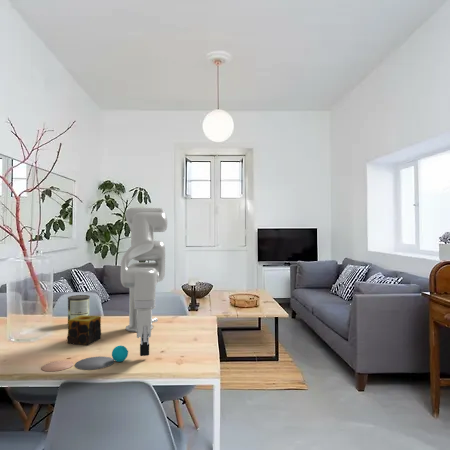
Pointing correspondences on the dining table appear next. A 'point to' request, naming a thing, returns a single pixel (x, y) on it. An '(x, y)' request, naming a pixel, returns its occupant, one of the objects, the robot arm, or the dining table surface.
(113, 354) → the ball
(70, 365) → the disc
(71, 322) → the candle
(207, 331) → the dining table surface
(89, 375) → the dining table surface
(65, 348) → the dining table surface
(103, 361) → the disc
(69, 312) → the coffee can
